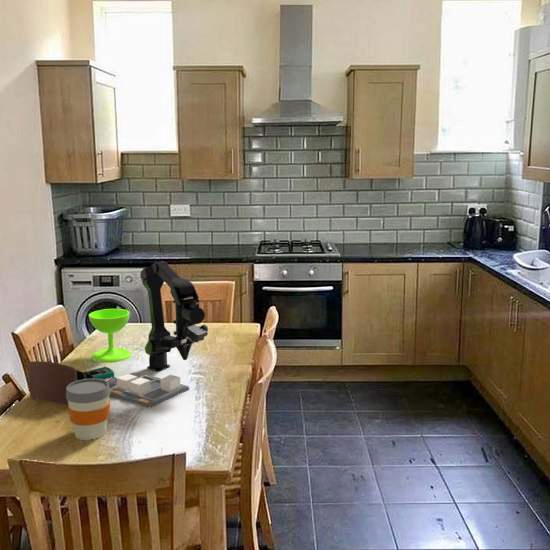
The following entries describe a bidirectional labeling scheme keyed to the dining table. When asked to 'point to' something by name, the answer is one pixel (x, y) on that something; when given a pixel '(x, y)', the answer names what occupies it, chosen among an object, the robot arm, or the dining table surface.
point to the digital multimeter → (101, 373)
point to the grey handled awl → (112, 381)
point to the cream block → (140, 386)
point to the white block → (125, 381)
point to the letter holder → (52, 380)
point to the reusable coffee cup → (88, 407)
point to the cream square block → (170, 383)
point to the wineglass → (110, 333)
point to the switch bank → (148, 393)
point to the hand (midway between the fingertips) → (185, 359)
